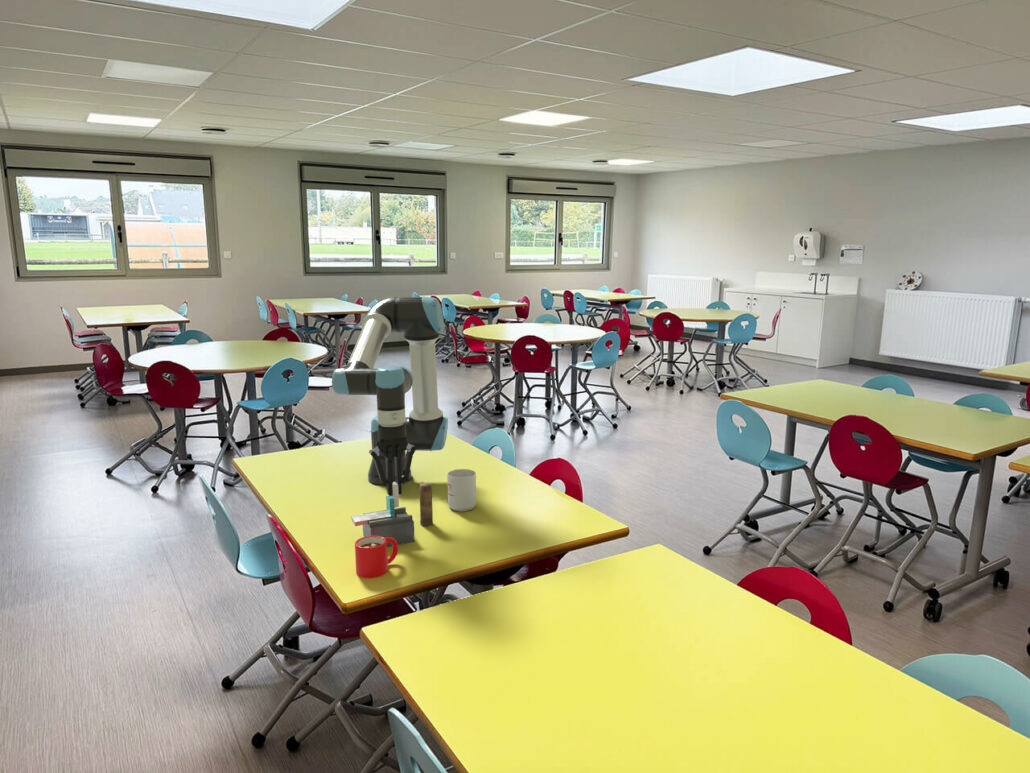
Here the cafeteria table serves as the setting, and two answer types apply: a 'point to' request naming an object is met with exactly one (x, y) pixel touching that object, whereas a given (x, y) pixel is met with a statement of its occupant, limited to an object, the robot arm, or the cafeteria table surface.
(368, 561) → the mug
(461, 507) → the mug
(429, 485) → the dowel
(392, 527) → the mount
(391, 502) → the grey teal l-shaped bracket
